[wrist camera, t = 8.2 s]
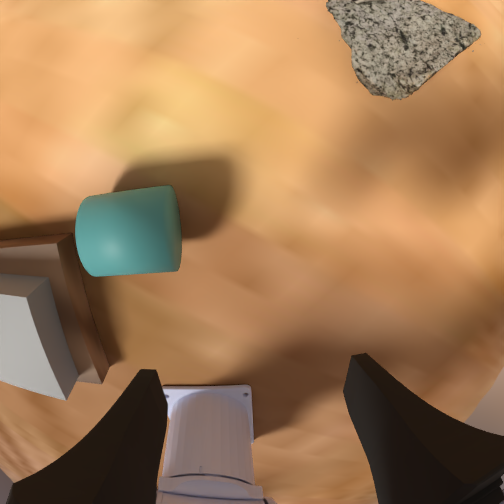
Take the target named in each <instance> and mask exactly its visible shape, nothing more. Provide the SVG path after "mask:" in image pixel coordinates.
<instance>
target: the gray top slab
mask: <svg viewBox="0 0 504 504" xmlns="http://www.w3.org/2000/svg"><path fill="white" fill-rule="evenodd" d="M78 377H79V375H78V372H77V369H76V367H75V364H74V361H73V359H72V356H71V353H70V350H69V348H68V345H67V342H66V339H65V336H64V332H63V329H62V326H61V323H60V319H59V316H58V312H57V309H56V305H55V301H54V298H53V294H52V290H51V285H50V281H49V277H39V276H26V275H14V274H2V273H0V381H3V382H6V383H9V384H12V385H14V386H17V387H20V388H24V389H27V390H30V391H33V392H36V393H40V394H43V395H47V396H51V397H54V398H58V399H62V400H67V398H68V396H69V394H70V392H71V390H72V389H73V387H74V385H75V383H76V381H77V379H78Z"/></svg>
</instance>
